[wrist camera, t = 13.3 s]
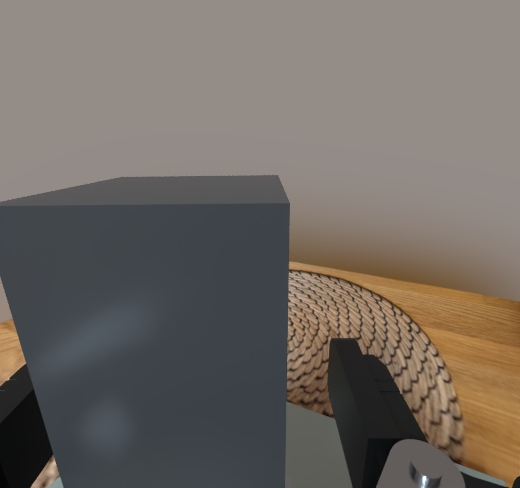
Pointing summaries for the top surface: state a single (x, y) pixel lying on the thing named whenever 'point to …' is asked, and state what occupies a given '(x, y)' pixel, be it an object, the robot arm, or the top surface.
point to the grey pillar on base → (155, 327)
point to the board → (319, 453)
